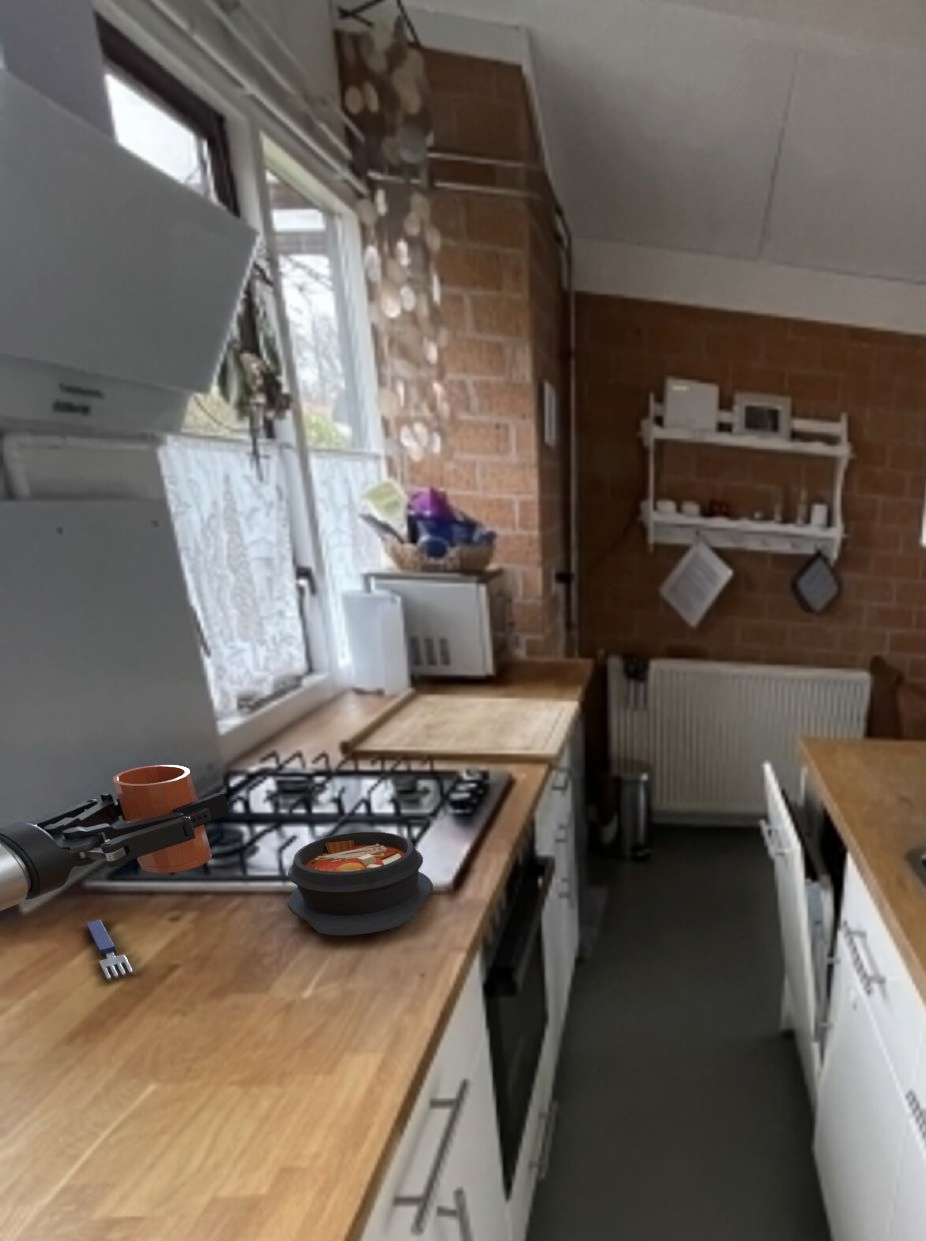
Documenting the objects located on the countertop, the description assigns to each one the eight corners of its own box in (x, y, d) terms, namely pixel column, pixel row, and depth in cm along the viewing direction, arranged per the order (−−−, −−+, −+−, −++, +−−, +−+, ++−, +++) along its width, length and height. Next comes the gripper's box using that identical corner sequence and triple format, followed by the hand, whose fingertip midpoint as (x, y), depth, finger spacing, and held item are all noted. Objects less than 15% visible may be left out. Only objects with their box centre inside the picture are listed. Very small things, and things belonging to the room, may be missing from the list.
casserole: (290, 879, 129) (278, 826, 125) (424, 862, 137) (416, 812, 133) (290, 958, 109) (276, 899, 106) (446, 934, 117) (438, 877, 113)
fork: (83, 930, 113) (80, 923, 112) (107, 924, 114) (105, 918, 114) (107, 981, 103) (105, 974, 102) (134, 974, 104) (132, 967, 104)
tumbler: (153, 849, 109) (128, 765, 104) (220, 847, 111) (198, 764, 106) (129, 874, 102) (101, 786, 97) (200, 871, 104) (176, 784, 99)
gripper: (-58, 884, 92) (140, 813, 112) (93, 919, 88) (271, 839, 107) (-86, 818, 89) (123, 757, 108) (69, 850, 84) (258, 781, 104)
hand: (197, 798), depth 108 cm, fingers closed on tumbler, 7 cm apart
